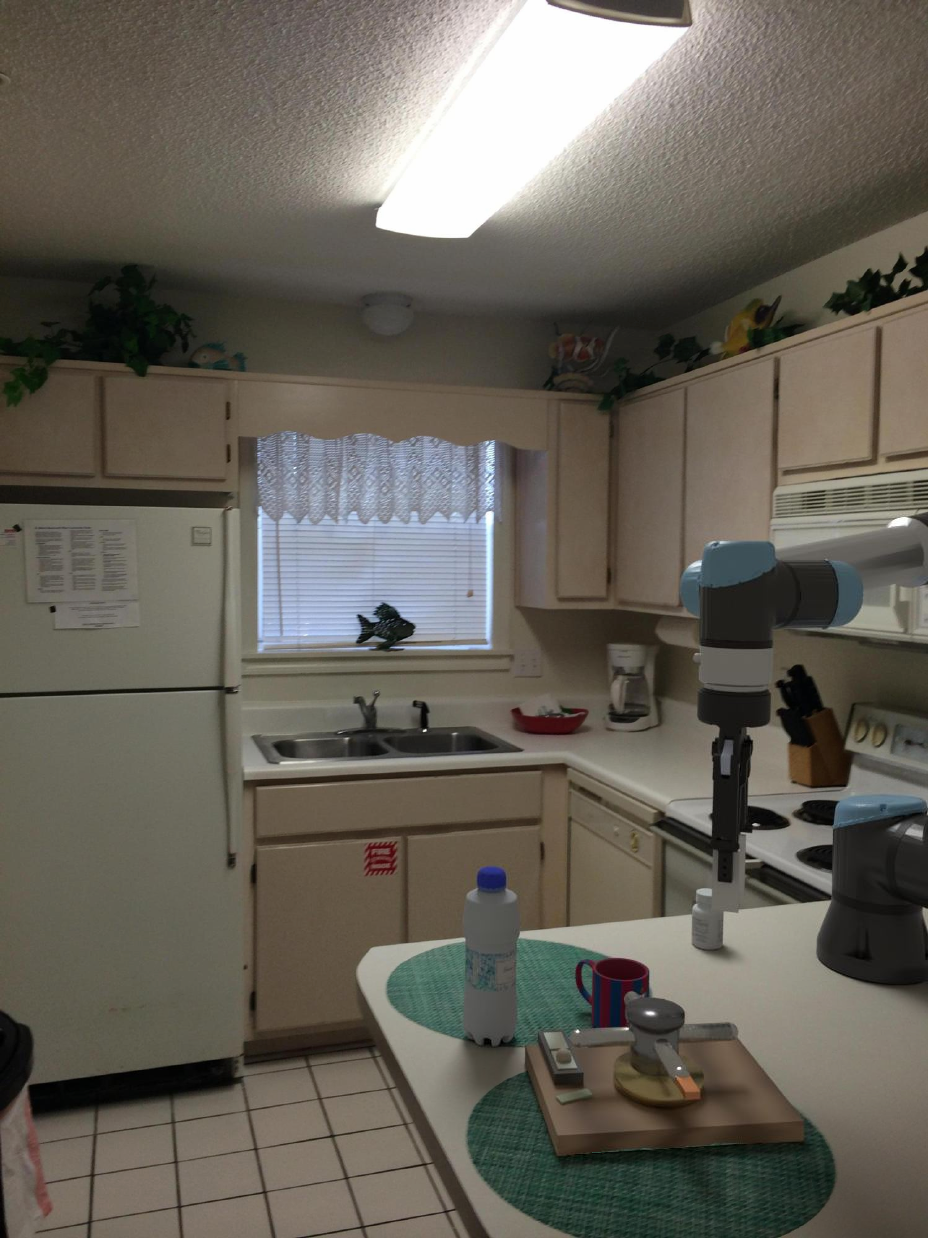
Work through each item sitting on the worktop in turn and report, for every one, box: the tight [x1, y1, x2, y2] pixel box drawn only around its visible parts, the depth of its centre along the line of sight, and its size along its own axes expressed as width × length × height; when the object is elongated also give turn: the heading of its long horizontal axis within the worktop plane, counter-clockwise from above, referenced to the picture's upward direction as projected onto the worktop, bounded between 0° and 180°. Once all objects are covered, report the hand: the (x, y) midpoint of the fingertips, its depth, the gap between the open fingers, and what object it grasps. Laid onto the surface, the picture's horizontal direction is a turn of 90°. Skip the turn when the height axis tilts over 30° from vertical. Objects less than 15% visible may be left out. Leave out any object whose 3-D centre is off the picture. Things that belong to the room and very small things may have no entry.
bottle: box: [461, 865, 522, 1047], centre depth 113 cm, size 7×7×20 cm
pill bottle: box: [691, 887, 725, 951], centre depth 141 cm, size 4×4×8 cm
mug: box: [574, 957, 651, 1028], centre depth 118 cm, size 7×10×7 cm
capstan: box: [568, 991, 739, 1107], centre depth 100 cm, size 18×20×7 cm
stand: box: [524, 1029, 805, 1157], centre depth 101 cm, size 24×18×4 cm
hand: (728, 900), depth 106 cm, fingers open, 5 cm apart
